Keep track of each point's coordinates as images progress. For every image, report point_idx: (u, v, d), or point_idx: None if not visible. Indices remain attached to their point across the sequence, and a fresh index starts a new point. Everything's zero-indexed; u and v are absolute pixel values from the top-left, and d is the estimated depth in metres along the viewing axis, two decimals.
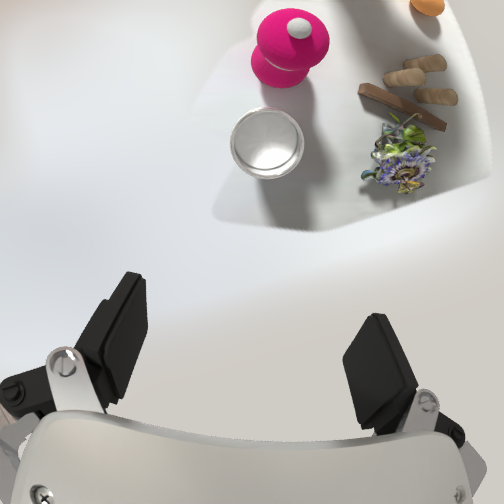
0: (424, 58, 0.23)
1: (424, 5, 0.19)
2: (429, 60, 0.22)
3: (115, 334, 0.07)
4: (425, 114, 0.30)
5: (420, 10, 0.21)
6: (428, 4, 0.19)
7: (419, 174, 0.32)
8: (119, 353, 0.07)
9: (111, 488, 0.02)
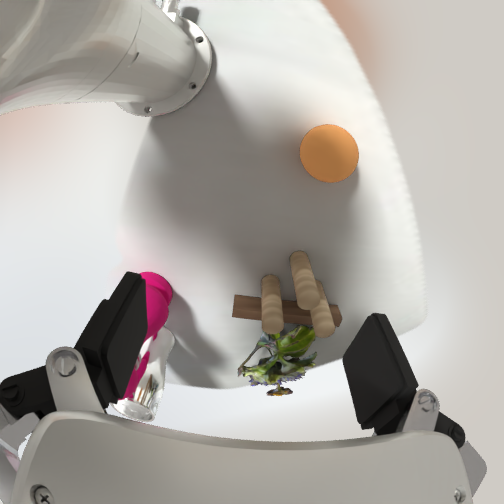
0: (295, 284, 0.29)
1: (316, 177, 0.25)
2: (296, 295, 0.28)
3: (115, 334, 0.07)
4: (309, 319, 0.35)
5: None
6: (321, 176, 0.25)
7: None
8: (119, 353, 0.07)
9: (111, 488, 0.02)
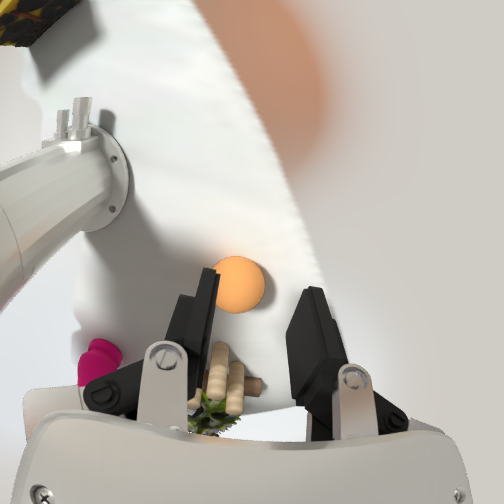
0: (208, 378, 0.32)
1: None
2: (207, 388, 0.31)
3: (211, 325, 0.08)
4: None
5: None
6: (224, 310, 0.28)
7: None
8: None
9: (111, 488, 0.02)
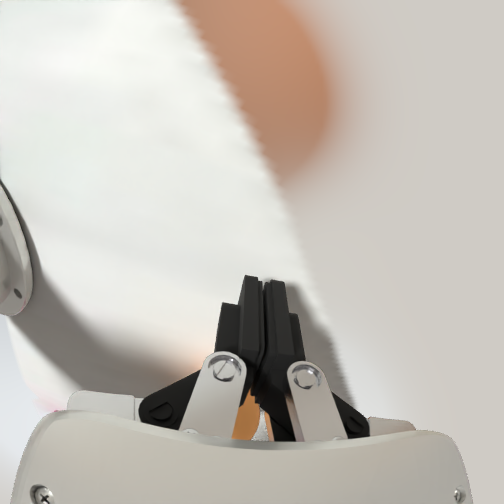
0: None
1: None
2: None
3: (263, 333, 0.08)
4: None
5: None
6: None
7: None
8: None
9: (111, 488, 0.02)
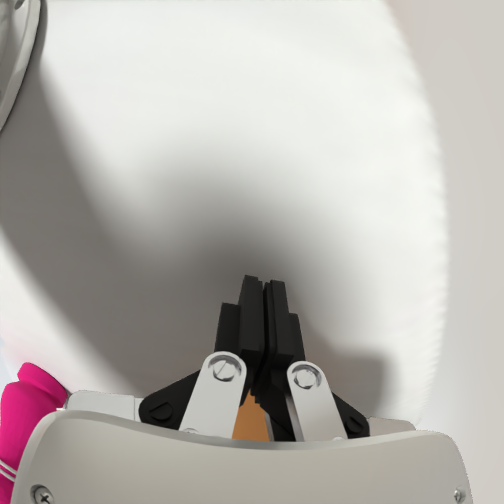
0: None
1: (257, 433, 0.13)
2: None
3: (263, 333, 0.08)
4: None
5: None
6: (257, 421, 0.13)
7: None
8: None
9: (111, 488, 0.02)
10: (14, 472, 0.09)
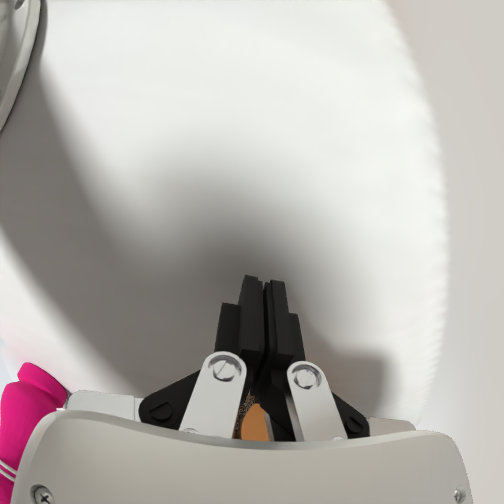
0: None
1: None
2: None
3: (263, 333, 0.08)
4: None
5: None
6: None
7: None
8: None
9: (111, 488, 0.02)
10: (14, 472, 0.09)
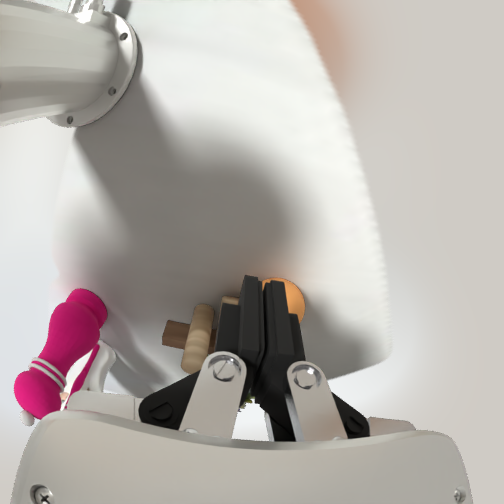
0: (214, 348, 0.29)
1: None
2: None
3: (263, 333, 0.08)
4: None
5: None
6: None
7: None
8: None
9: (111, 488, 0.02)
10: (56, 372, 0.21)
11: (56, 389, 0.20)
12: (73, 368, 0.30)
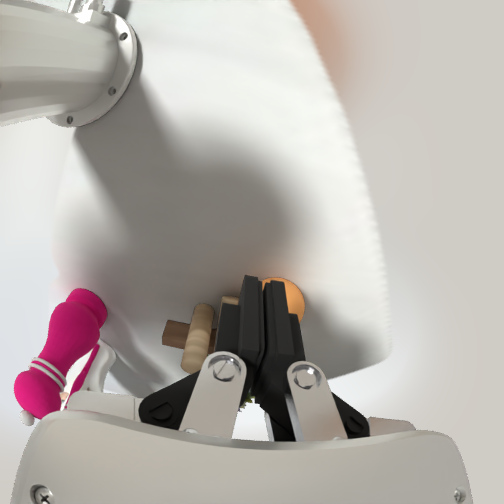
0: (214, 348, 0.29)
1: None
2: None
3: (263, 333, 0.08)
4: None
5: None
6: None
7: None
8: None
9: (111, 488, 0.02)
10: (56, 372, 0.21)
11: (56, 389, 0.20)
12: (72, 368, 0.30)
